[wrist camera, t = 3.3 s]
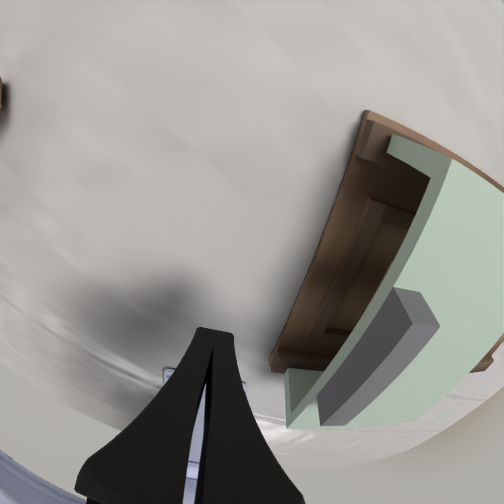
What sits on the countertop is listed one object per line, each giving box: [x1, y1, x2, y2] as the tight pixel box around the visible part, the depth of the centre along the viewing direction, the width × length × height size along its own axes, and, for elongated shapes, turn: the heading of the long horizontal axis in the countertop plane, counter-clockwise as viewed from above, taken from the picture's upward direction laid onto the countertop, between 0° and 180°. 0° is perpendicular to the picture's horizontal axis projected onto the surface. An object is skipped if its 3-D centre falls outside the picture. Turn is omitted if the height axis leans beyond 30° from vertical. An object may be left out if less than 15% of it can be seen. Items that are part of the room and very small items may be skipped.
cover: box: [284, 134, 504, 429], centre depth 13 cm, size 18×12×7 cm, turn 167°
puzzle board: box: [269, 110, 504, 373], centre depth 18 cm, size 20×30×2 cm, turn 77°
